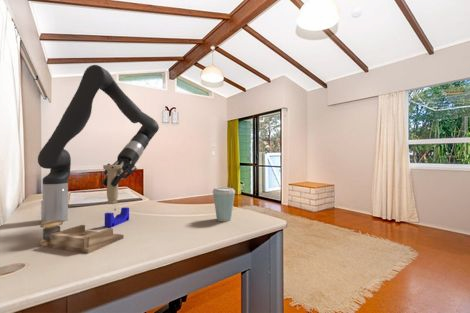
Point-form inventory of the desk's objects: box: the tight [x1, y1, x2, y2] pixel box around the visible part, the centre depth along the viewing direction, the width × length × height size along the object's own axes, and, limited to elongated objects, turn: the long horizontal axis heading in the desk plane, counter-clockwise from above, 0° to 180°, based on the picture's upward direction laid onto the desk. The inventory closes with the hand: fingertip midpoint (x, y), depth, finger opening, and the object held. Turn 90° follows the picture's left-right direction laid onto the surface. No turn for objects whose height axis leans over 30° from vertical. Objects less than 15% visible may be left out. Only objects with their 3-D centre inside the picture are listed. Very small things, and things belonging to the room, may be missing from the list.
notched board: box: [45, 224, 125, 254], centre depth 80 cm, size 18×14×4 cm
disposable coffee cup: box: [212, 186, 236, 222], centre depth 109 cm, size 11×11×15 cm
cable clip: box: [104, 206, 130, 229], centre depth 103 cm, size 12×4×6 cm, turn 169°
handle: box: [102, 164, 122, 205], centre depth 91 cm, size 5×6×15 cm
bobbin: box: [39, 220, 64, 247], centre depth 80 cm, size 6×6×7 cm
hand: (108, 184), depth 89 cm, fingers closed on handle, 3 cm apart
